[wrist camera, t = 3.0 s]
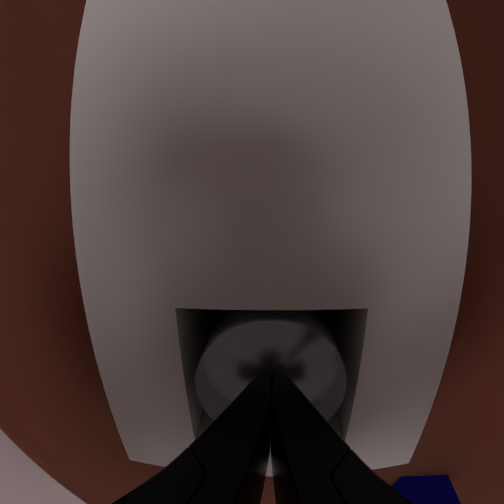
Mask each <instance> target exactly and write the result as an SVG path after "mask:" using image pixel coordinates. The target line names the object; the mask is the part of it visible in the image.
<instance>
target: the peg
mask: <svg viewBox="0 0 504 504" xmlns="http://www.w3.org/2000/svg"><path fill="white" fill-rule="evenodd" d="M256 376H271V377H272V378H273V377H274V376H289V377H290V378H291V380H292V381H293V382H294V383H295V384H296V386H297V387H298V388H299V389H300V390H301V392H302V393H303V394H304V395H305V396H306V397H307V399H308V400H309V401H310V402H311V403H312V404H313V406H314V407H315V408H316V409H317V410H318V411H319V413H320V414H321V415H322V416H323V417H324V418H325V419H326V421H328V420H329V419H330V418H331V417H332V416H333V415H334V413H335V412H336V411H337V410H338V408H339V406H340V405H341V403H342V401H343V398H344V396H345V392H346V387H347V375H346V370H345V366H344V363H343V360H342V357H341V354H340V352H339V349H338V346H337V343H336V340H335V338H334V335H333V332H332V329H331V327H330V324H329V321H328V318H327V316H326V313H325V310H220V312H219V315H218V317H217V320H216V322H215V324H214V327H213V329H212V332H211V334H210V337H209V339H208V341H207V344H206V346H205V349H204V351H203V354H202V356H201V358H200V361H199V363H198V366H197V370H196V375H195V388H196V393H197V396H198V399H199V401H200V403H201V405H202V407H203V409H204V410H205V411H206V413H207V414H208V415H209V416H210V417H211V418H212V419H213V420H215V419H216V418H217V417H218V416H219V415H220V414H221V413H222V412H223V411H224V410H225V409H226V408H227V407H228V406H229V405H230V404H231V402H232V401H233V400H234V399H235V398H236V397H237V396H238V395H239V394H240V393H241V392H242V391H243V390H244V389H245V387H246V386H247V385H248V384H249V383H250V382H251V381H252V380H253V379H254V378H255V377H256Z"/></svg>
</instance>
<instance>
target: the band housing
mask: <svg viewBox="0 0 504 504" xmlns="http://www.w3.org/2000/svg"><path fill="white" fill-rule="evenodd" d="M70 189H71V207H72V221H73V232H74V242H75V250H76V258H77V266H78V273H79V280H80V286H81V292H82V297H83V303H84V308H85V313H86V318H87V323H88V328H89V332H90V337H91V341H92V345H93V349H94V353H95V357H96V361H97V365H98V369H99V372H100V376H101V379H102V383H103V386H104V390H105V393H106V396H107V399H108V402H109V406H110V409H111V412H112V415H113V417H114V420H115V423H116V426H117V429H118V432H119V434H120V437H121V440H122V442H123V445H124V447H125V450H126V452H127V455H128V457H129V460H133V461H137V462H142V463H147V464H152V465H157V466H163V467H166V466H167V465H168V464H170V463H171V462H172V461H173V460H174V459H175V458H176V457H178V456H179V455H180V454H181V453H182V452H183V451H184V450H185V449H186V448H189V445H190V444H191V443H192V442H193V441H194V440H195V439H196V438H197V437H198V436H199V435H200V434H201V433H202V432H203V431H204V430H205V429H206V428H207V427H208V426H209V425H210V424H211V423H212V422H213V421H214V420H213V419H212V418H211V417H210V416H209V415H208V414H207V413H206V411H205V410H204V409H203V407H202V405H201V403H200V401H199V399H198V396H197V393H196V388H195V375H196V370H197V366H198V363H199V361H200V358H201V356H202V354H203V351H204V349H205V346H206V344H207V341H208V339H209V337H210V334H211V332H212V329H213V327H214V324H215V322H216V309H218V310H330V312H329V324H330V327H331V329H332V332H333V335H334V338H335V340H336V343H337V346H338V349H339V352H340V354H341V357H342V360H343V363H344V366H345V370H346V375H347V387H346V392H345V396H344V398H343V401H342V403H341V405H340V406H339V408H338V410H337V411H336V412H335V413H334V415H333V416H332V417H331V418H330V419H329V420H328V421H327V422H328V423H329V424H330V425H331V426H332V427H333V429H334V430H335V431H336V432H337V433H338V434H339V435H340V436H341V438H342V439H343V440H344V441H345V442H346V443H347V444H348V445H349V447H350V448H351V449H352V450H353V451H354V452H355V453H356V454H357V455H358V456H359V457H360V459H361V460H362V461H363V462H364V463H365V464H366V465H367V466H368V467H369V468H370V469H371V470H372V469H379V468H385V467H391V466H396V465H401V464H406V463H409V461H410V459H411V457H412V455H413V452H414V450H415V448H416V446H417V443H418V441H419V439H420V436H421V434H422V431H423V429H424V426H425V424H426V421H427V418H428V416H429V413H430V410H431V407H432V405H433V402H434V399H435V396H436V393H437V390H438V387H439V384H440V381H441V377H442V374H443V371H444V367H445V364H446V360H447V356H448V353H449V349H450V345H451V341H452V337H453V333H454V328H455V324H456V319H457V314H458V309H459V304H460V298H461V293H462V287H463V280H464V274H465V266H466V258H467V250H468V240H469V228H470V212H471V143H470V128H469V116H468V106H467V98H466V90H465V83H464V77H463V71H462V65H461V59H460V54H459V49H458V45H457V40H456V36H455V32H454V28H453V24H452V20H451V16H450V13H449V9H448V6H447V2H446V0H87V1H86V5H85V10H84V15H83V20H82V25H81V30H80V36H79V42H78V49H77V56H76V63H75V71H74V81H73V91H72V104H71V122H70ZM351 449H350V450H351ZM266 476H273V473H272V465H271V442H270V456H269V462H268V467H267V472H266Z"/></svg>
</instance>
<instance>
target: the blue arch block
mask: <svg viewBox="0 0 504 504" xmlns="http://www.w3.org/2000/svg"><path fill="white" fill-rule="evenodd" d="M392 488H394V489H395V490H396V491H398V492H399V493H400V494H402V495H403V496H404V497H406V498H407V499H408V500H410V501H411V502H412V503H414V504H461V503H460V501H459V499H458V497H457V494H456V492H455V490H454V488H453V486H452V484H451V481H450V479H449V477H448V475H438V476H413V477H400V478H399V479H398V480H397V481H396V482H395V484H394V485H393V486H392Z"/></svg>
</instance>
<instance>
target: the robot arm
mask: <svg viewBox="0 0 504 504" xmlns="http://www.w3.org/2000/svg"><path fill="white" fill-rule="evenodd" d="M270 442H271V465H272V473H273V482H274V490H275V499H276V504H414V503H412V502H411V501H410V500H408V499H407V498H406V497H404V496H403V495H402V494H400V493H399V492H398V491H396V490H395V489H394V488H392V487H391V486H390V485H389V484H387V483H386V482H385V481H384V480H383V479H382V478H380V477H379V476H378V475H377V474H376V473H375V472H373V471H372V470H371V469H370V468H369V467H368V466H367V465H366V464H365V463H364V462H363V461H362V460H361V459H360V457H359V456H358V455H357V454H356V453H355V452H354V451H353V450H352V449H351V448H350V447H349V445H348V444H347V443H346V442H345V441H344V440H343V439H342V438H341V436H340V435H339V434H338V433H337V432H336V431H335V430H334V429H333V427H332V426H331V425H330V424H329V423H328V422H327V421H326V419H325V418H324V417H323V416H322V415H321V414H320V413H319V411H318V410H317V409H316V408H315V407H314V406H313V404H312V403H311V402H310V401H309V400H308V399H307V397H306V396H305V395H304V394H303V393H302V392H301V390H300V389H299V388H298V387H297V386H296V384H295V383H294V382H293V381H292V380H291V378H290V377H289V376H274V377H273V378H272V377H271V376H256V377H255V378H254V379H253V380H252V381H251V382H250V383H249V384H248V385H247V386H246V387H245V389H244V390H243V391H242V392H241V393H240V394H239V395H238V396H237V397H236V398H235V399H234V400H233V401H232V402H231V404H230V405H229V406H228V407H227V408H226V409H225V410H224V411H223V412H222V413H221V414H220V415H219V416H218V417H217V418H216V419H215V420H214V421H213V422H212V423H211V424H210V425H209V426H208V427H207V428H206V429H205V430H204V431H203V432H202V433H201V434H200V435H199V436H198V437H197V438H196V439H195V440H194V441H193V442H192V443H191V444H190V445H189V448H186V449H185V450H184V451H183V452H182V453H181V454H180V455H179V456H178V457H176V458H175V459H174V460H173V461H172V462H171V463H170V464H168V465H167V466H166V467H165V468H164V469H163V470H161V471H160V472H158V473H157V474H156V475H154V476H153V477H152V478H150V479H149V480H148V481H146V482H145V483H143V484H142V485H140V486H139V487H137V488H136V489H134V490H133V491H131V492H129V493H128V494H126V495H125V496H123V497H122V498H120V499H118V500H117V501H115V502H113V503H112V504H260V501H261V497H262V492H263V487H264V482H265V477H266V472H267V467H268V462H269V456H270ZM350 449H351V450H350Z"/></svg>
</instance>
